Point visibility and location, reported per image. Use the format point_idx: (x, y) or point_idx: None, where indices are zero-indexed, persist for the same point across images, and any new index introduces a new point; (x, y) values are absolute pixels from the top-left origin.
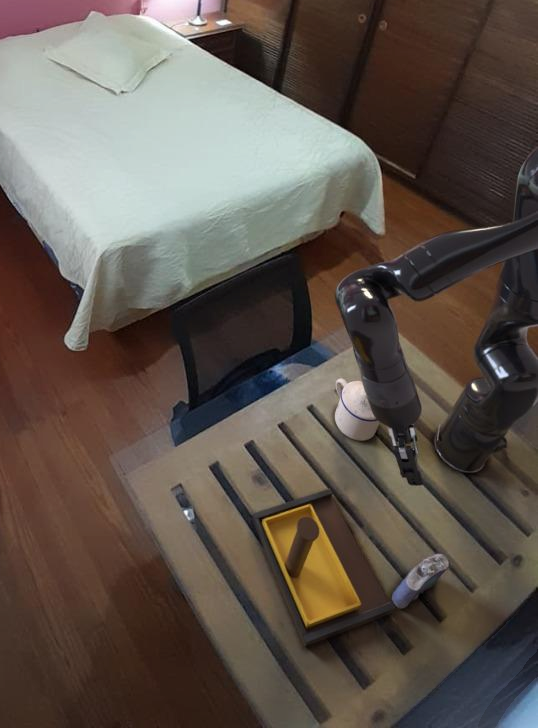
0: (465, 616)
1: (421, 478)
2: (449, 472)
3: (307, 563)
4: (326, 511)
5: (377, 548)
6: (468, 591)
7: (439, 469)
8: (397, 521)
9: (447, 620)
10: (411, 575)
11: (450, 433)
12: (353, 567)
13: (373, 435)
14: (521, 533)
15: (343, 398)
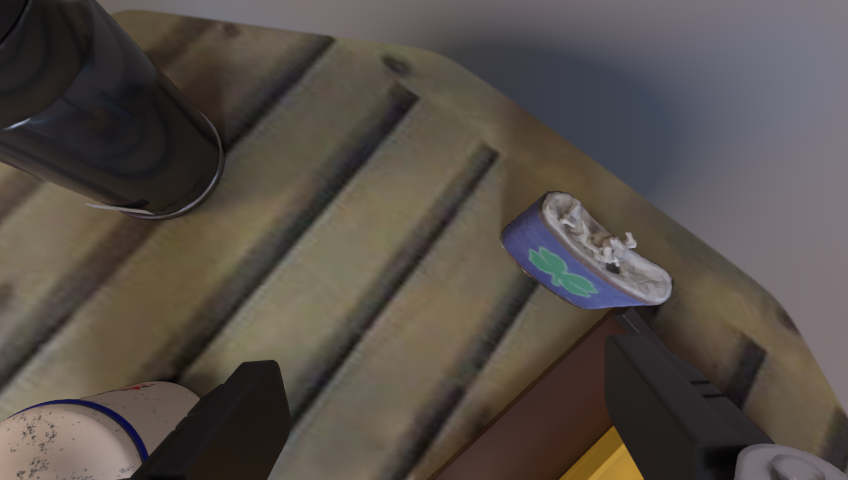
0: (549, 167)
1: (659, 359)
2: (234, 184)
3: None
4: None
5: (497, 347)
6: (500, 159)
7: (234, 207)
8: (413, 305)
9: None
10: (640, 289)
11: (117, 172)
12: (575, 403)
13: (184, 388)
14: (333, 49)
15: None
